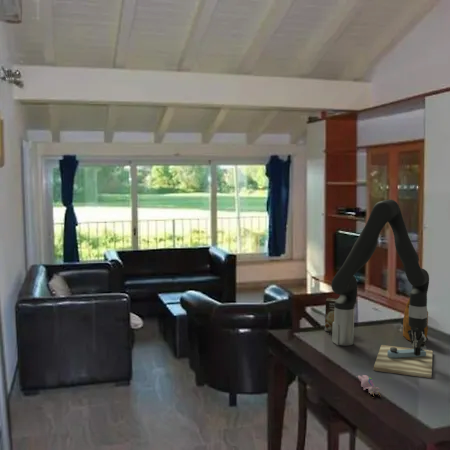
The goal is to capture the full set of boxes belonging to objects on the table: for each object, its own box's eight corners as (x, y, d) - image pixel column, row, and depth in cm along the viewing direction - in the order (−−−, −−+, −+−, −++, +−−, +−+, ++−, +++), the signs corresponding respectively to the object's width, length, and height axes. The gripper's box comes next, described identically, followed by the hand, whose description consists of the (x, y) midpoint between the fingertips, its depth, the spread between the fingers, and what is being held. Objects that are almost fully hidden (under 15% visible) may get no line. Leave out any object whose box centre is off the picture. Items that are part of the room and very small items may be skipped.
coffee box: (324, 331, 278) (324, 300, 277) (326, 327, 284) (326, 297, 283) (342, 332, 275) (343, 301, 274) (343, 329, 281) (344, 299, 280)
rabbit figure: (384, 401, 198) (367, 379, 212) (385, 386, 196) (369, 365, 211) (367, 402, 197) (352, 379, 211) (369, 387, 195) (354, 366, 210)
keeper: (417, 355, 237) (418, 346, 237) (410, 351, 243) (410, 342, 243) (426, 355, 238) (426, 346, 238) (418, 350, 244) (418, 341, 244)
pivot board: (431, 378, 216) (431, 364, 215) (373, 370, 224) (374, 357, 224) (432, 354, 244) (432, 342, 244) (381, 347, 252) (381, 336, 252)
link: (390, 358, 232) (390, 353, 232) (385, 354, 237) (385, 350, 237) (426, 356, 235) (426, 352, 235) (420, 352, 240) (420, 348, 240)
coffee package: (419, 334, 273) (421, 291, 271) (429, 342, 261) (431, 297, 258) (399, 334, 273) (401, 291, 270) (409, 342, 260) (410, 297, 258)
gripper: (402, 312, 238) (401, 351, 239) (417, 319, 225) (417, 360, 226) (417, 311, 239) (417, 349, 240) (434, 318, 226) (433, 359, 227)
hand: (417, 355), depth 233 cm, fingers closed
